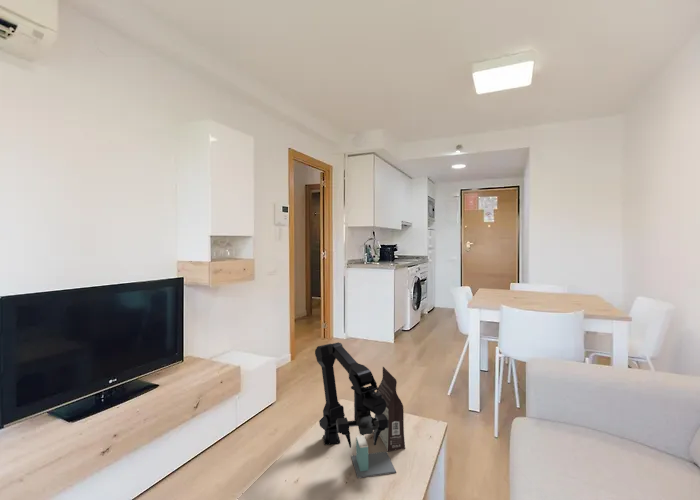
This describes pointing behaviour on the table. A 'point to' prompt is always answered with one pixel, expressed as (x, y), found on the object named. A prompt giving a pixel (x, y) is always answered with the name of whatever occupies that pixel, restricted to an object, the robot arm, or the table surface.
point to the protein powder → (392, 414)
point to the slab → (362, 453)
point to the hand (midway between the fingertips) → (362, 445)
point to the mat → (375, 465)
